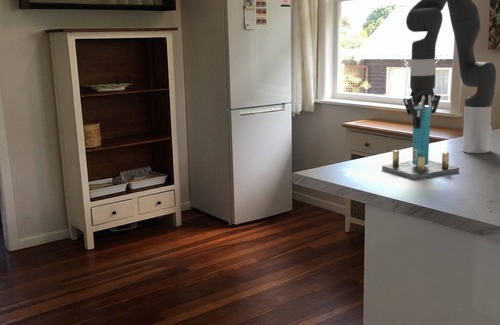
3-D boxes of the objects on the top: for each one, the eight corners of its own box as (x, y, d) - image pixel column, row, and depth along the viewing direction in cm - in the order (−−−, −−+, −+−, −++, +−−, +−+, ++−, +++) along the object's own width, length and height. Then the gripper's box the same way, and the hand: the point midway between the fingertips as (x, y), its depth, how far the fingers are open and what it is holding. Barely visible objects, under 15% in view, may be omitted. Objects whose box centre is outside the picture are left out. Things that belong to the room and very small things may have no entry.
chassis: (423, 163, 187) (424, 144, 186) (458, 172, 173) (459, 152, 172) (382, 170, 180) (382, 151, 179) (415, 180, 166) (416, 159, 164)
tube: (434, 164, 175) (436, 105, 171) (425, 167, 172) (427, 107, 168) (414, 161, 180) (416, 104, 176) (405, 163, 178) (407, 105, 173)
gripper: (431, 71, 176) (429, 124, 180) (397, 74, 170) (396, 128, 174) (448, 72, 169) (446, 126, 173) (413, 75, 164) (412, 131, 167)
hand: (421, 127), depth 173 cm, fingers closed on tube, 3 cm apart
